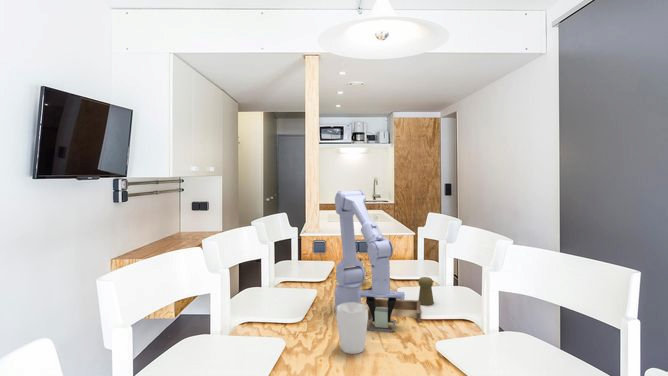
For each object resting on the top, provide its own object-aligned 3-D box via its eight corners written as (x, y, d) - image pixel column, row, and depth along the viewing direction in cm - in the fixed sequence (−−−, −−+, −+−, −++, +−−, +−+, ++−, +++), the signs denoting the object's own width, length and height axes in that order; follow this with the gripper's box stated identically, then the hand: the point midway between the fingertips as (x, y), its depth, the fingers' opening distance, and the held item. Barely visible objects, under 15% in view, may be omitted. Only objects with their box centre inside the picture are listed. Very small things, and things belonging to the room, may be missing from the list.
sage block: (375, 327, 117) (374, 311, 117) (376, 322, 121) (376, 306, 121) (387, 327, 116) (387, 312, 116) (388, 323, 120) (388, 307, 120)
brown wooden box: (368, 323, 124) (368, 310, 124) (372, 310, 136) (372, 298, 136) (420, 326, 120) (420, 313, 120) (420, 313, 132) (420, 300, 132)
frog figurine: (384, 291, 158) (379, 257, 157) (342, 296, 159) (337, 262, 159) (382, 284, 168) (378, 252, 167) (343, 289, 169) (338, 257, 168)
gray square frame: (367, 335, 115) (367, 329, 115) (370, 324, 123) (370, 318, 123) (394, 337, 113) (394, 330, 113) (395, 326, 121) (395, 320, 121)
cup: (335, 342, 111) (334, 302, 110) (365, 340, 112) (364, 301, 111) (338, 357, 102) (337, 314, 101) (371, 355, 103) (370, 312, 102)
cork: (435, 310, 134) (434, 280, 134) (417, 309, 136) (417, 279, 135) (434, 304, 140) (433, 275, 140) (417, 304, 142) (417, 275, 141)
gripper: (355, 281, 115) (357, 324, 116) (403, 282, 112) (404, 327, 113) (359, 275, 122) (360, 315, 123) (404, 276, 119) (405, 318, 119)
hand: (381, 320), depth 118 cm, fingers closed on sage block, 4 cm apart
